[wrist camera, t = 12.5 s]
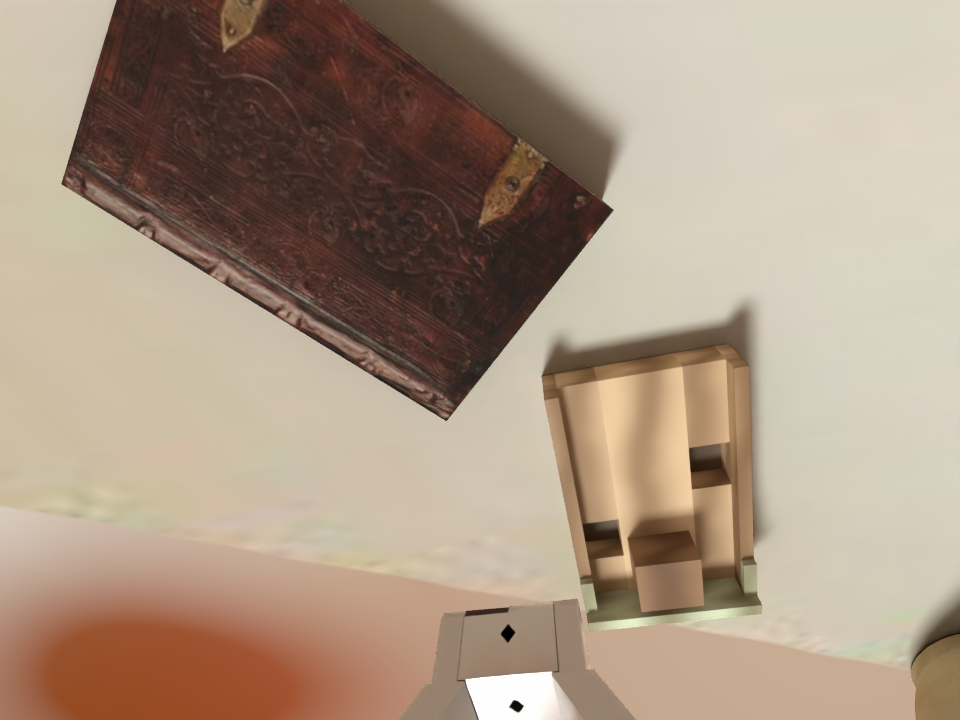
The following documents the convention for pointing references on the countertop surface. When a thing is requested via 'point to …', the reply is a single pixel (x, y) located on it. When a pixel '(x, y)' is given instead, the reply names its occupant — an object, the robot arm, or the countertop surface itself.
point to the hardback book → (329, 183)
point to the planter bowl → (938, 680)
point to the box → (657, 476)
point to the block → (666, 571)
